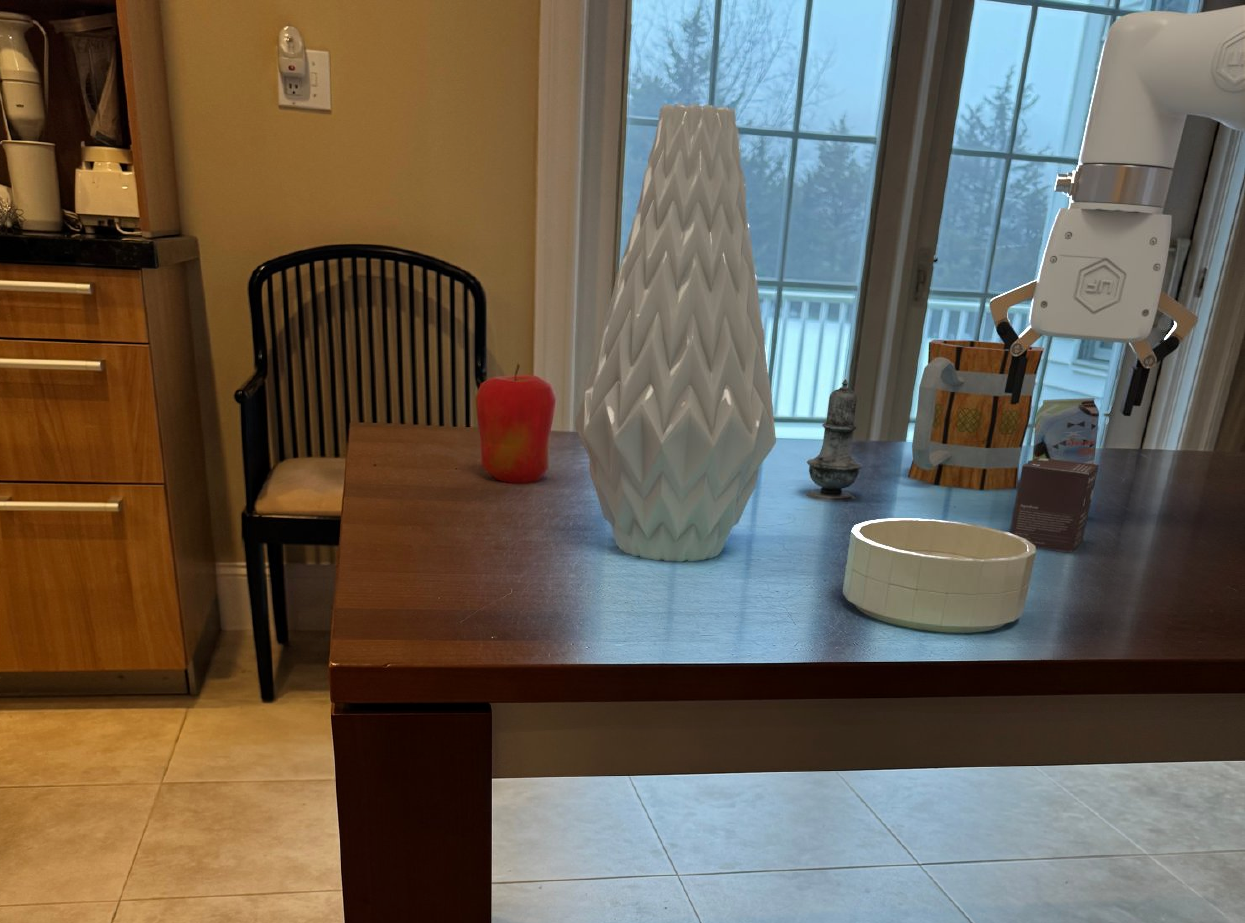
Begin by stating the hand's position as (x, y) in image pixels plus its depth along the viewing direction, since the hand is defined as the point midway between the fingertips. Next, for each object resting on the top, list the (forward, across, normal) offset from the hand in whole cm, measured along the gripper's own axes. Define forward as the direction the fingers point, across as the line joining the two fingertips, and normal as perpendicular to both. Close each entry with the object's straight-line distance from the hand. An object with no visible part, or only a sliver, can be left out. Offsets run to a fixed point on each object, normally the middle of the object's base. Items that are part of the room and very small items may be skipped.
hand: (1068, 408), depth 106 cm
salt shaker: (+13, -21, +12) cm, 28 cm away
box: (+12, +1, 0) cm, 12 cm away
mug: (+13, -9, +29) cm, 33 cm away
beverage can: (+12, +2, +14) cm, 19 cm away
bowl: (+12, -8, -29) cm, 33 cm away
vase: (+13, -31, -20) cm, 39 cm away
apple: (+13, -54, +3) cm, 56 cm away
